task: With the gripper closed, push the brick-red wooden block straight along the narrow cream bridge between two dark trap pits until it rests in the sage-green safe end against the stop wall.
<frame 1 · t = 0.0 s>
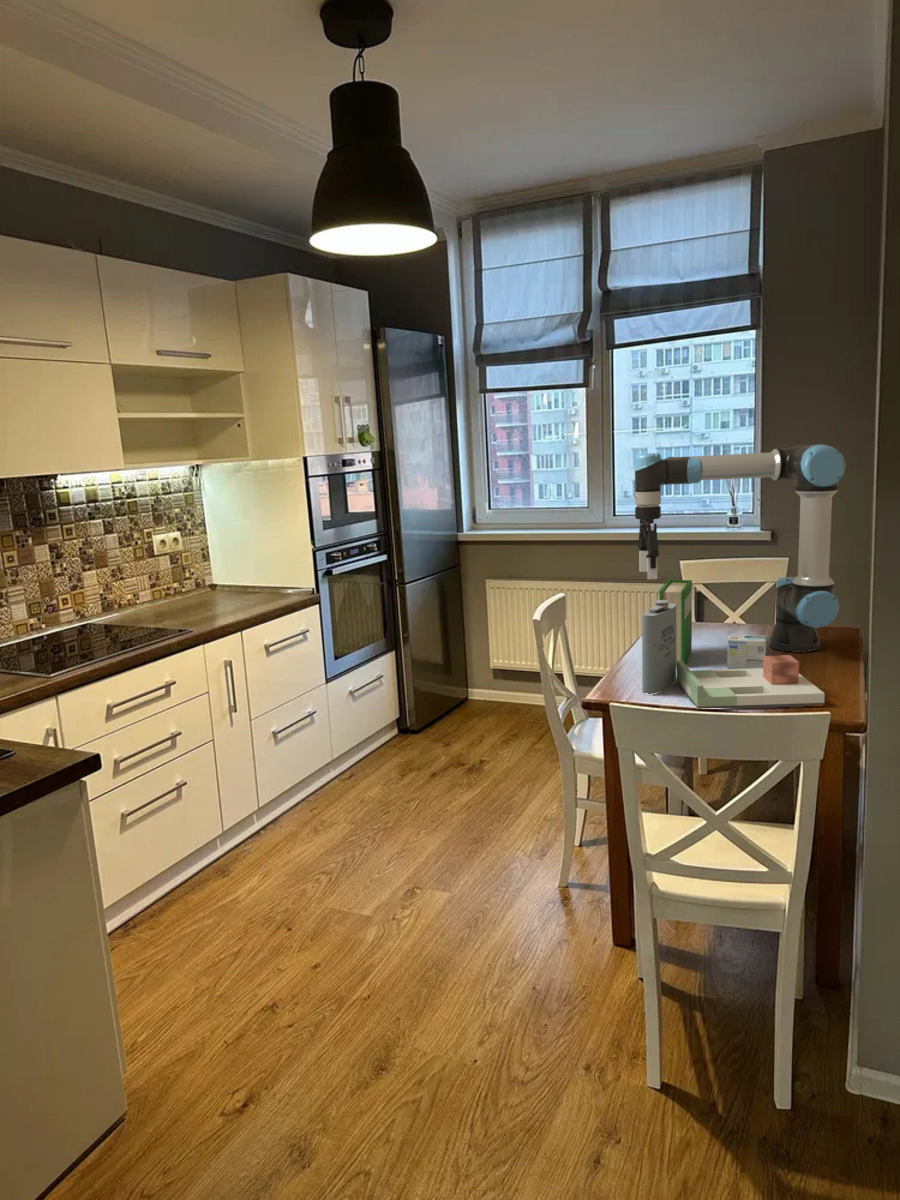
hand: (648, 575, 250), 28 cm above the table, tool pointing down, fingers open, 13 cm apart
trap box: (746, 693, 222), on the table
light bulb box: (746, 673, 241), on the table
hardback book: (675, 660, 258), on the table
flask: (661, 687, 232), on the table
block: (780, 680, 221), point 3 cm above the table, touching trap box
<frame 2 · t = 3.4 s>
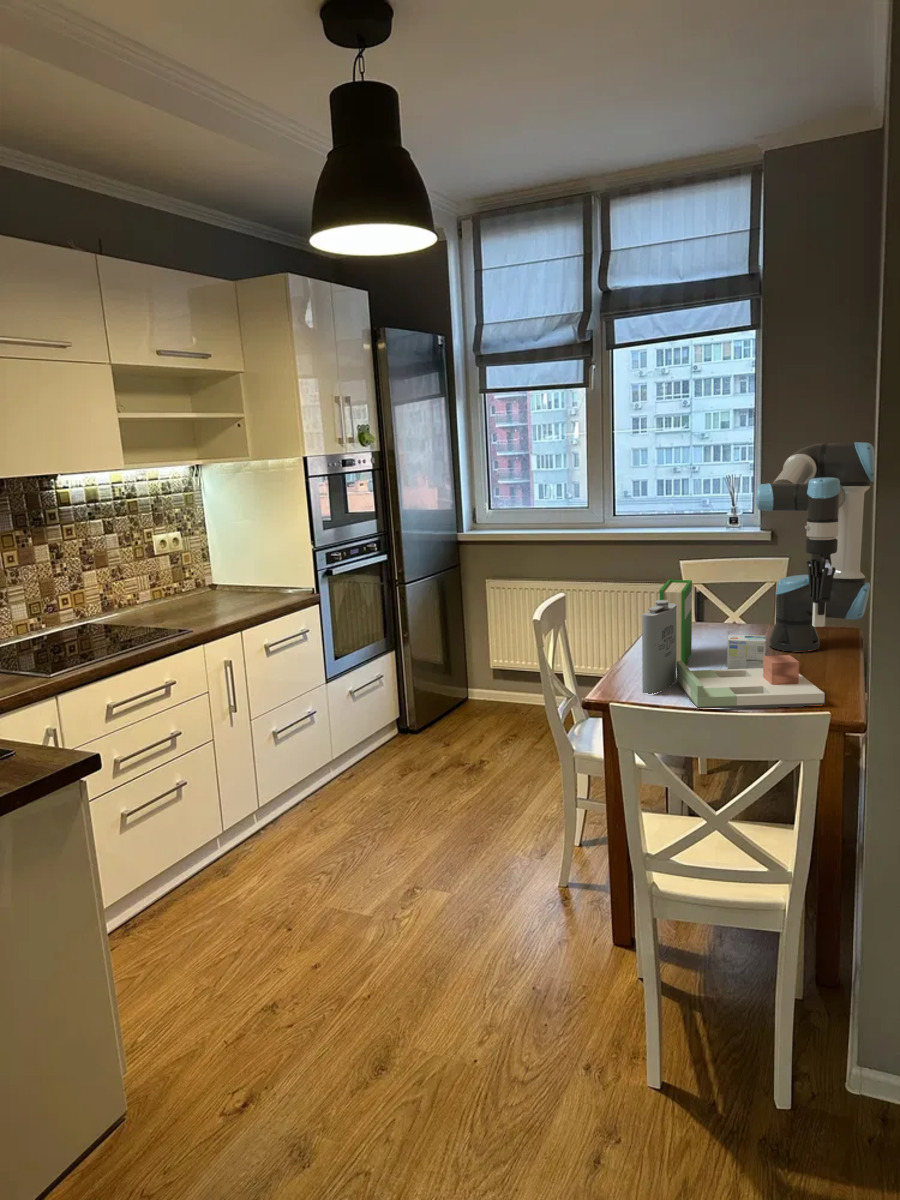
hand: (818, 625, 217), 18 cm above the table, tool pointing down, fingers closed
nothing on the table moved.
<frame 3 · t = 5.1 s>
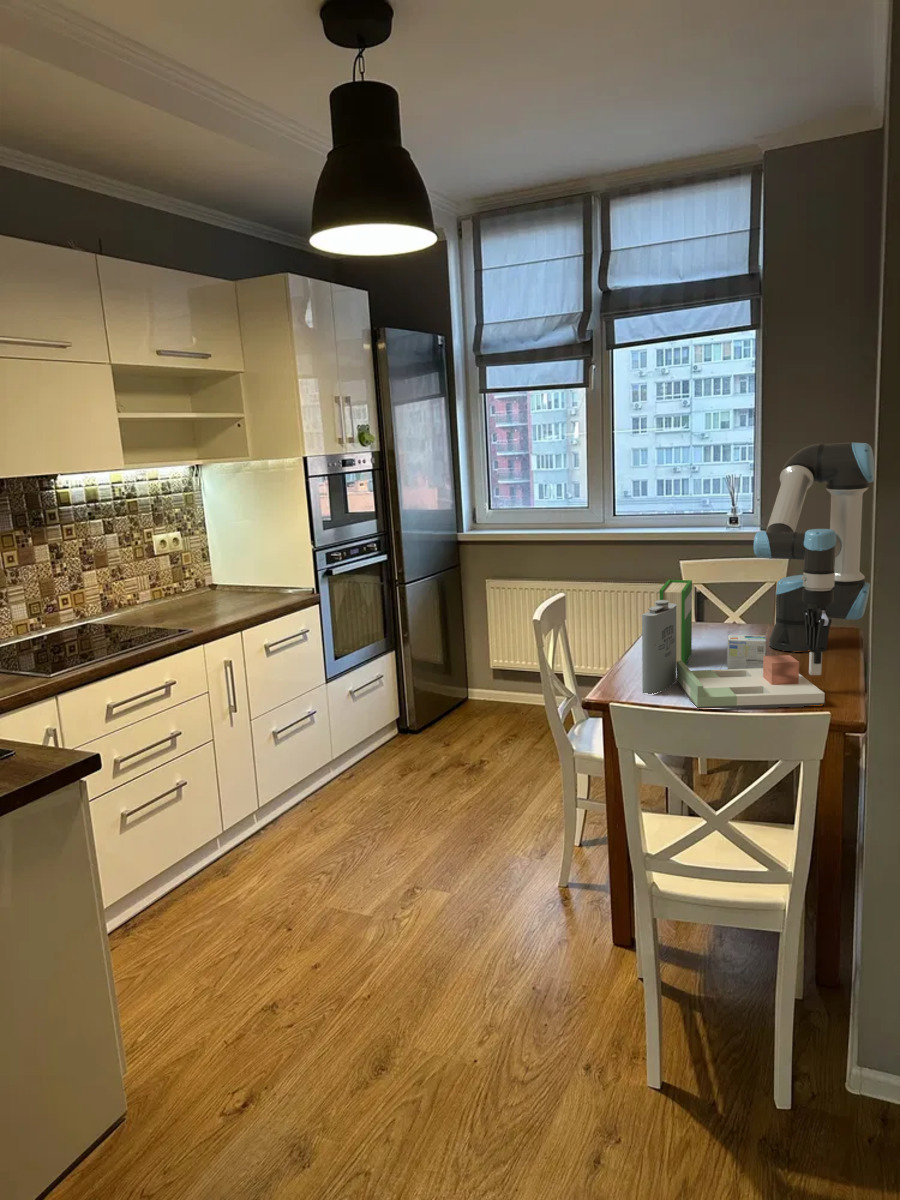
hand: (814, 674, 220), 5 cm above the table, tool pointing down, fingers closed
nothing on the table moved.
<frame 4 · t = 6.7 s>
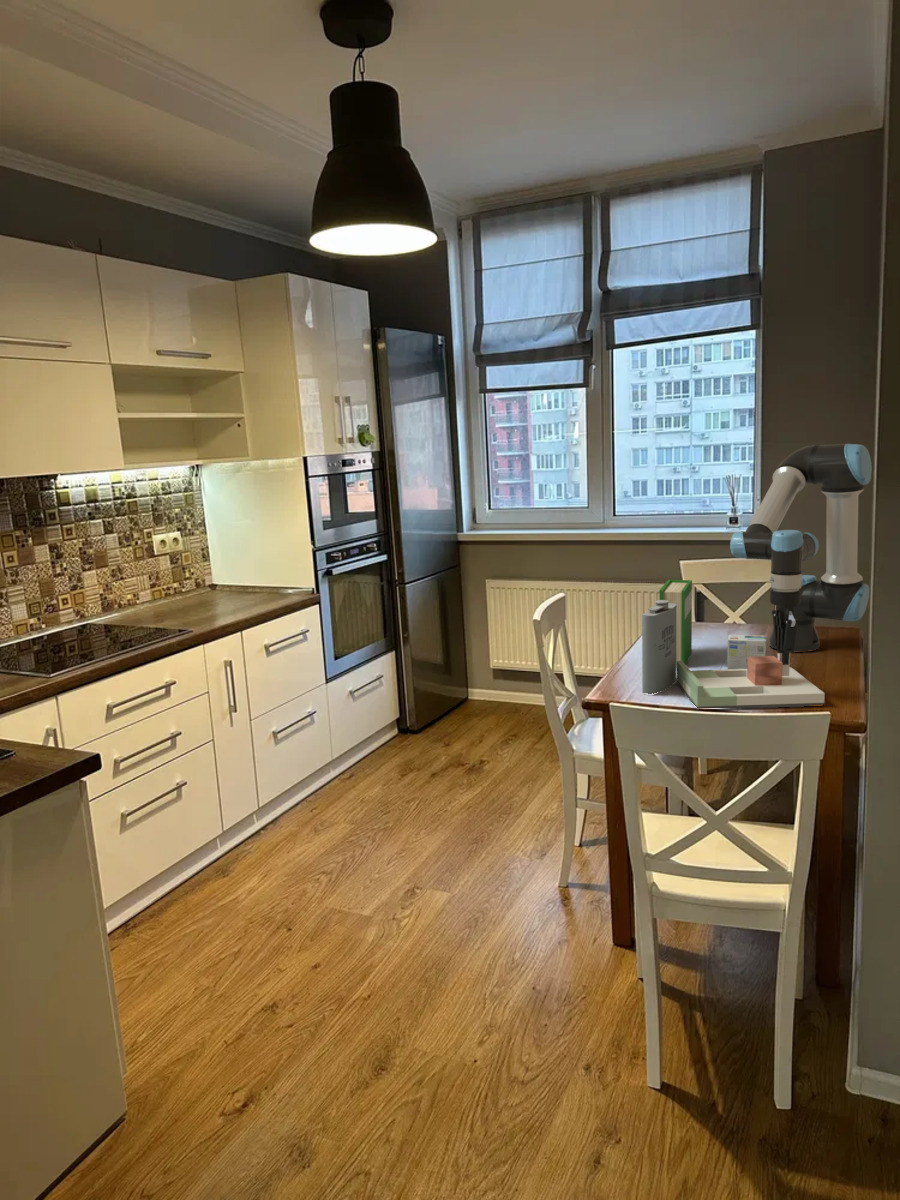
hand: (783, 675, 220), 5 cm above the table, tool pointing down, fingers closed
block: (764, 681, 221), point 4 cm above the table, touching gripper
everything else where it was.
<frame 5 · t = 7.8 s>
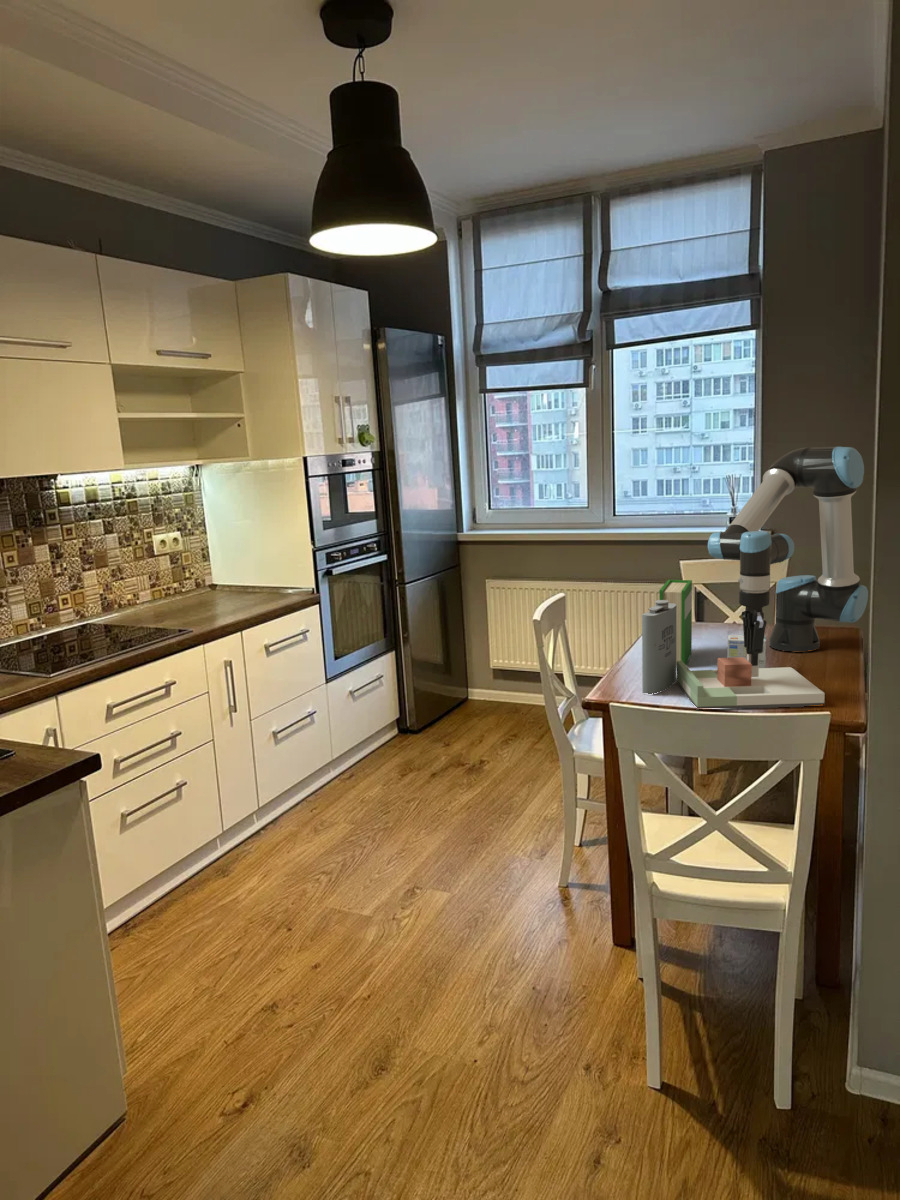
hand: (752, 676, 221), 5 cm above the table, tool pointing down, fingers closed
block: (733, 682, 221), point 4 cm above the table, touching gripper, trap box
everything else where it was.
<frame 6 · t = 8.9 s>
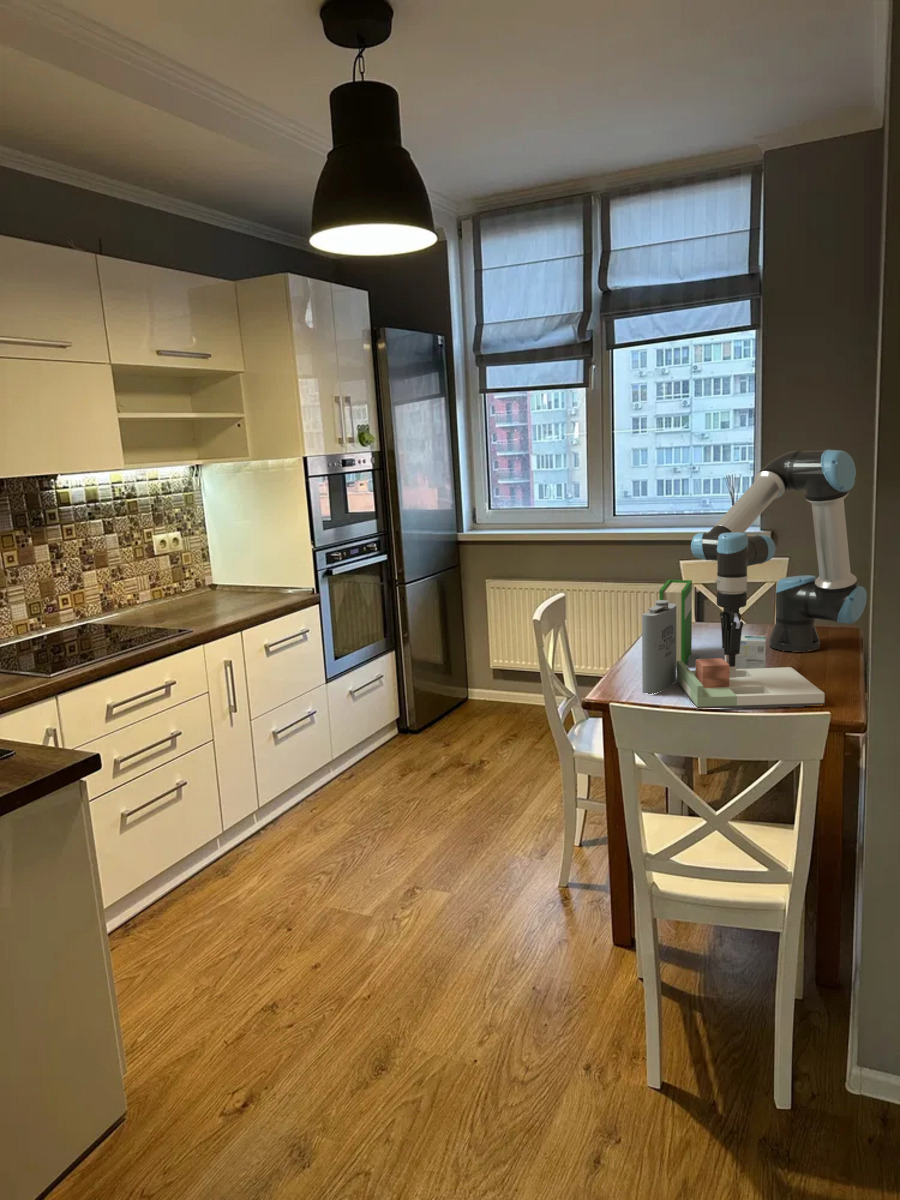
hand: (730, 676, 221), 5 cm above the table, tool pointing down, fingers closed
block: (712, 683, 221), point 4 cm above the table, touching gripper
everything else where it was.
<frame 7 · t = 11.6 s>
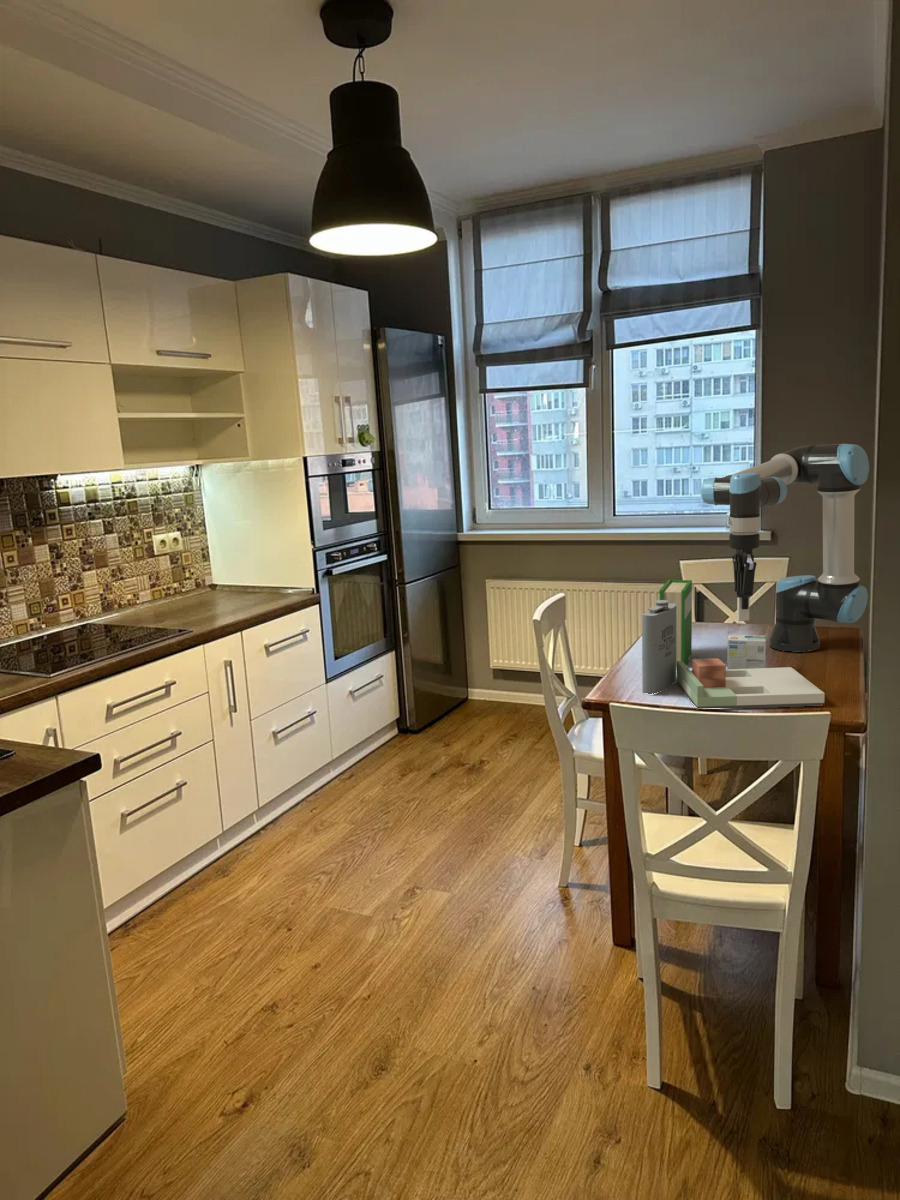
hand: (743, 620, 219), 20 cm above the table, tool pointing down, fingers closed
block: (708, 683, 221), point 3 cm above the table, touching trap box
everything else where it was.
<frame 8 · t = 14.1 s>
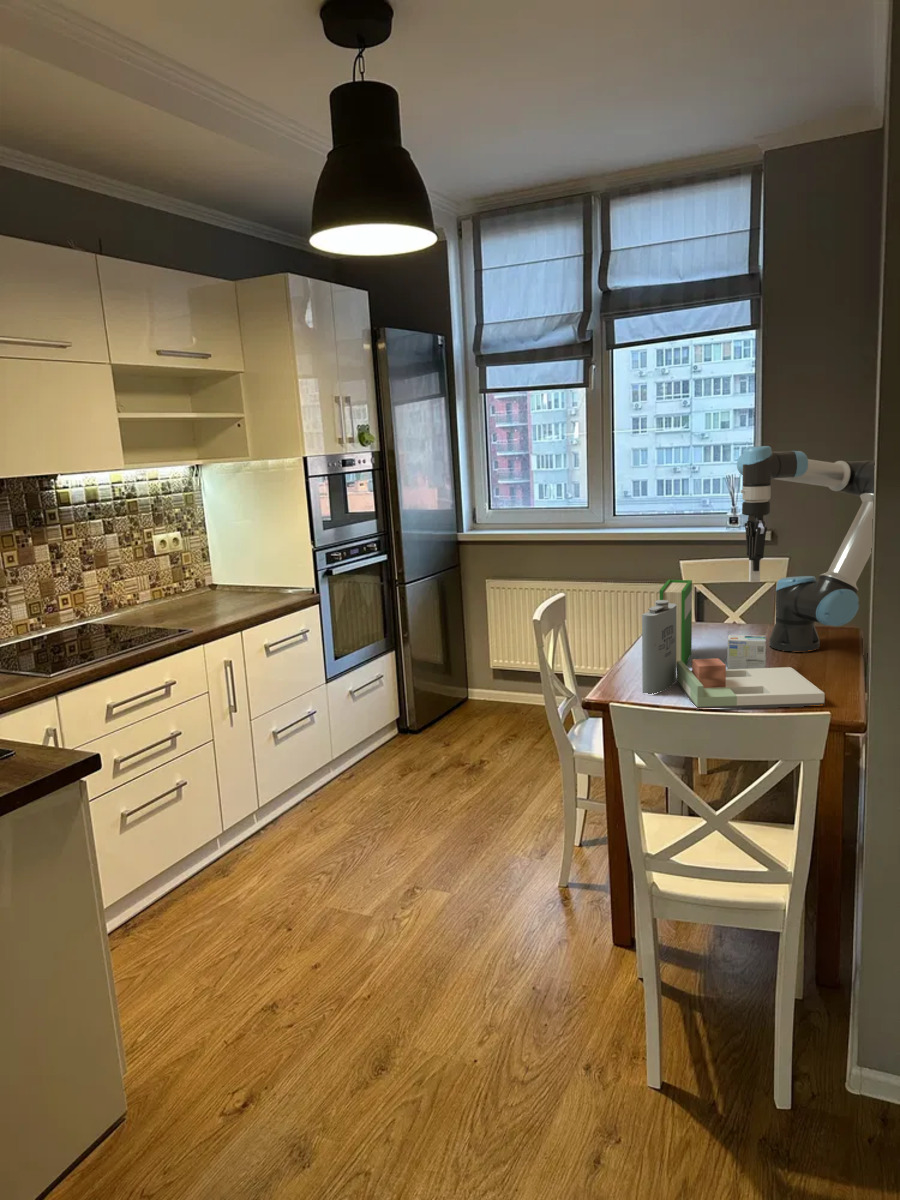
hand: (754, 581, 240), 26 cm above the table, tool pointing down, fingers closed
nothing on the table moved.
at the end: block inside the target area (1.6 cm from its centre), point 3.5 cm above the table; block tilted 0° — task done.
